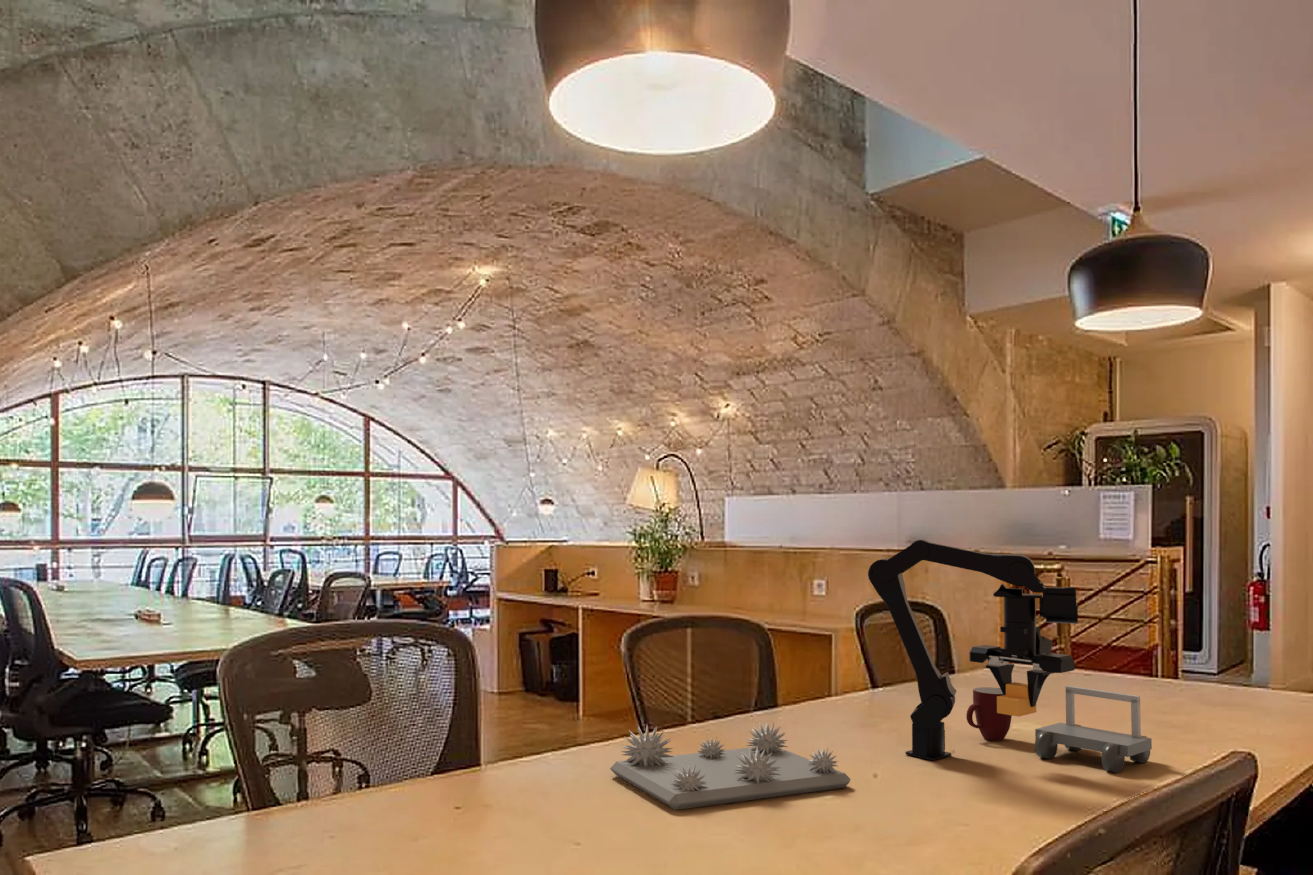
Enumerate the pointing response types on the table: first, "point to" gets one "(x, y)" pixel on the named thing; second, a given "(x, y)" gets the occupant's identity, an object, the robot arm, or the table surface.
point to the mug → (988, 714)
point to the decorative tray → (725, 770)
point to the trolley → (1096, 734)
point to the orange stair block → (1015, 700)
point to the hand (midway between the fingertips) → (1021, 704)
